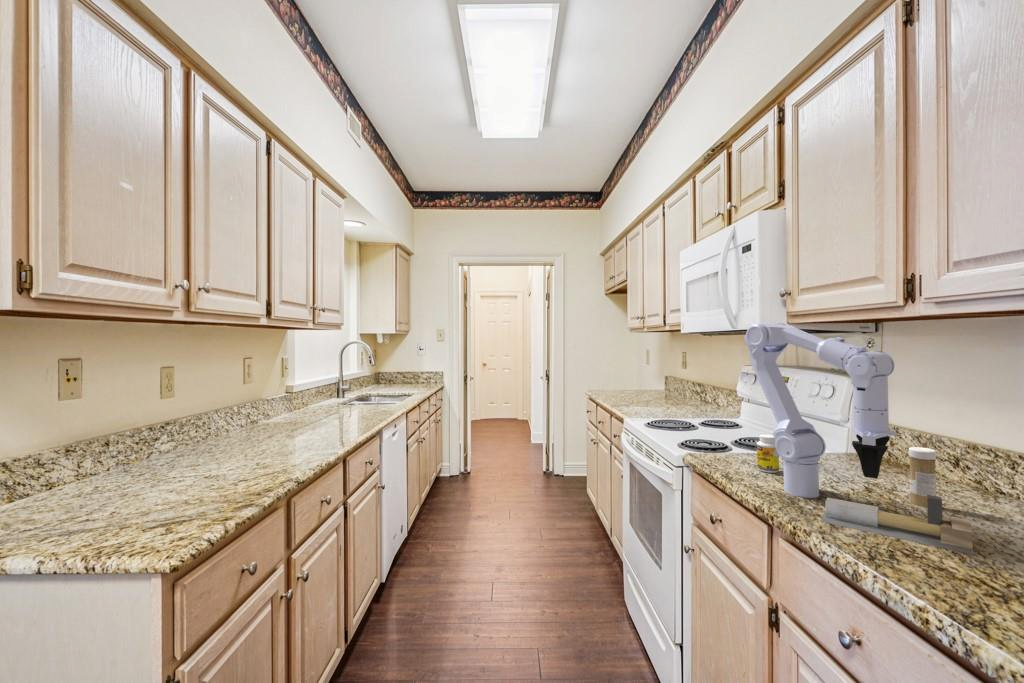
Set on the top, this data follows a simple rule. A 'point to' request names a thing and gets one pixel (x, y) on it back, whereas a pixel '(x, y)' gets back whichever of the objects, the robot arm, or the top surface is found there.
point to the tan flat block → (917, 524)
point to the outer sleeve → (852, 512)
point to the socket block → (957, 532)
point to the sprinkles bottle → (922, 474)
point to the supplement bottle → (767, 454)
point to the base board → (898, 534)
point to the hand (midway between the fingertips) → (871, 472)
